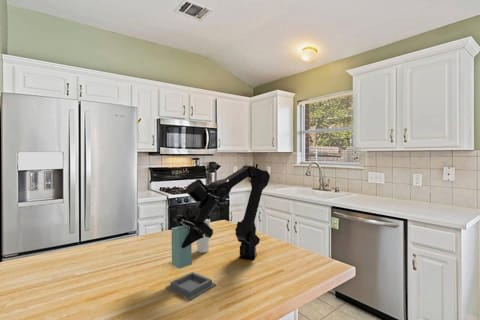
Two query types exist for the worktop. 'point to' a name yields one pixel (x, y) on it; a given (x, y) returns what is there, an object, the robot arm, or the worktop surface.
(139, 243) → the worktop surface
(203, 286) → the socket holder
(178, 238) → the teal block
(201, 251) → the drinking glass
